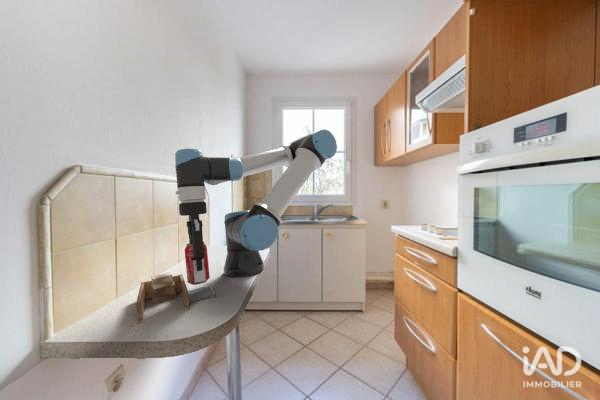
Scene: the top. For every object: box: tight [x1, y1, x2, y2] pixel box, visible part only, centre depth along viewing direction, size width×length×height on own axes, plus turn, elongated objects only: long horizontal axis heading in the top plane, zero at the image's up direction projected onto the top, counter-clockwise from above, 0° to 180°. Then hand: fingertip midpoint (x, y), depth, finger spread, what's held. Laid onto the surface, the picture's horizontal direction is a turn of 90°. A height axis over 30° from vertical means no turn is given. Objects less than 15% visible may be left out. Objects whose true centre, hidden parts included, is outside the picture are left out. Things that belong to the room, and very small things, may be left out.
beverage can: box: [184, 241, 211, 286], centre depth 74 cm, size 6×6×12 cm
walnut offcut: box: [151, 281, 177, 304], centre depth 73 cm, size 6×4×4 cm, turn 119°
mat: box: [188, 285, 216, 304], centre depth 73 cm, size 7×9×1 cm
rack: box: [136, 273, 190, 324], centre depth 68 cm, size 11×18×5 cm, turn 30°
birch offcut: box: [150, 272, 173, 289], centre depth 73 cm, size 5×3×3 cm
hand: (198, 278), depth 73 cm, fingers closed on beverage can, 5 cm apart
